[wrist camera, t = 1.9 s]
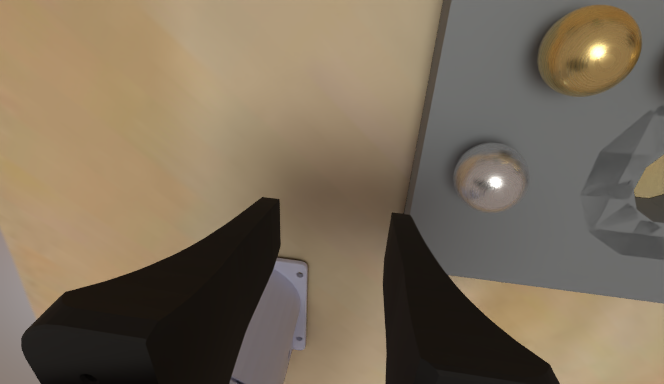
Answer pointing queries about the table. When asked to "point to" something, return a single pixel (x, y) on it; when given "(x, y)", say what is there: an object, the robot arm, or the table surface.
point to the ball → (491, 177)
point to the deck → (542, 155)
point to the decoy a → (589, 50)
